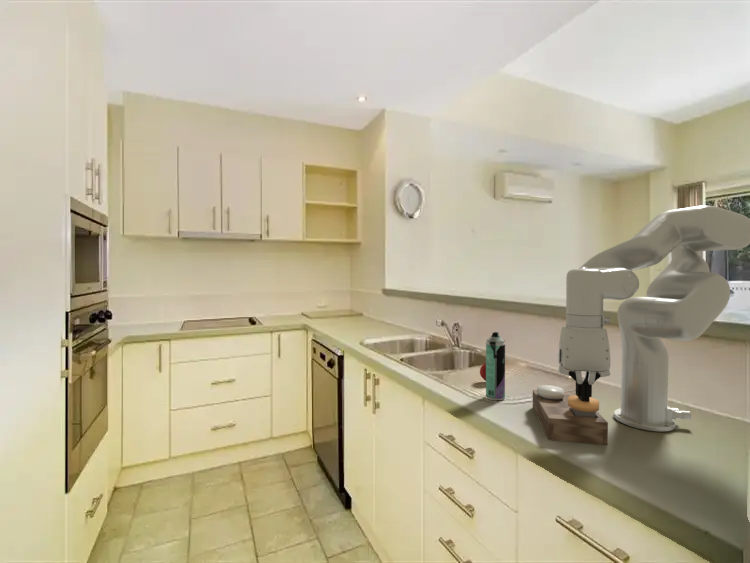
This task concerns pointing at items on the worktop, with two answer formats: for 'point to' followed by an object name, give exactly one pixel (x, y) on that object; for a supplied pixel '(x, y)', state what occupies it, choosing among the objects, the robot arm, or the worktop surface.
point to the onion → (483, 371)
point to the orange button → (583, 406)
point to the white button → (550, 392)
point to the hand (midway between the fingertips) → (583, 399)
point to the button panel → (569, 422)
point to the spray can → (495, 367)
